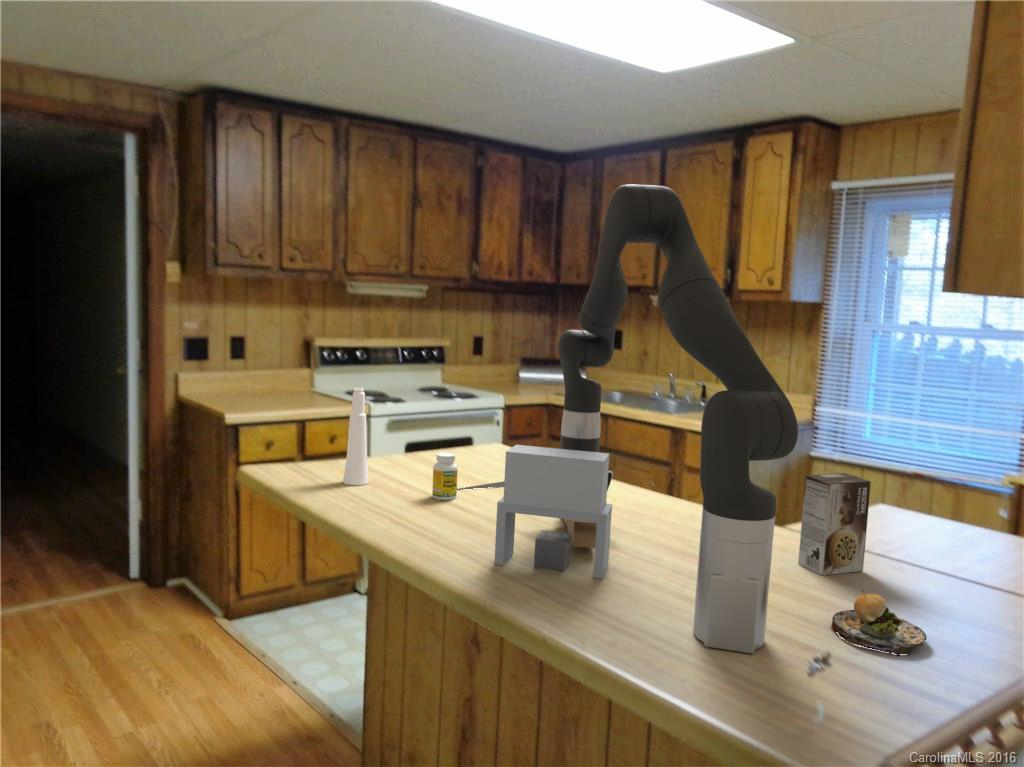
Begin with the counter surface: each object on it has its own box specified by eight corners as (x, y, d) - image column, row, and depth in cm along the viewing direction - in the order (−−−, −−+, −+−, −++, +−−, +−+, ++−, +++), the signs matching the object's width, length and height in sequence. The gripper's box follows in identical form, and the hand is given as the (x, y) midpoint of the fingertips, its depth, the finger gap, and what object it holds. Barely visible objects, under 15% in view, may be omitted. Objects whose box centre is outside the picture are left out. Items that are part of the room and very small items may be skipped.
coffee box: (836, 560, 140) (844, 472, 138) (864, 572, 134) (873, 480, 132) (795, 563, 136) (804, 473, 135) (822, 576, 130) (831, 482, 129)
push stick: (595, 547, 135) (597, 522, 135) (572, 546, 135) (574, 521, 135) (580, 511, 159) (582, 489, 159) (561, 510, 159) (562, 488, 158)
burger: (924, 666, 98) (930, 610, 98) (825, 642, 104) (830, 589, 103) (926, 633, 109) (931, 582, 108) (836, 614, 115) (840, 565, 114)
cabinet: (602, 578, 124) (610, 461, 122) (494, 564, 128) (499, 451, 126) (608, 565, 130) (615, 454, 128) (505, 551, 135) (510, 444, 133)
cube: (563, 572, 126) (565, 542, 126) (533, 568, 127) (535, 538, 127) (569, 562, 131) (570, 533, 130) (540, 558, 132) (541, 530, 132)
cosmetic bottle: (346, 479, 182) (349, 386, 180) (371, 480, 182) (374, 387, 180) (339, 484, 176) (342, 389, 174) (365, 486, 176) (369, 390, 174)
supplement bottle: (446, 493, 174) (447, 451, 173) (461, 498, 170) (463, 455, 169) (427, 496, 170) (428, 453, 169) (442, 501, 166) (444, 457, 165)
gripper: (540, 433, 148) (535, 520, 149) (615, 440, 144) (609, 529, 146) (548, 427, 155) (543, 510, 157) (619, 434, 151) (613, 519, 153)
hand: (575, 519), depth 151 cm, fingers closed on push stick, 4 cm apart
